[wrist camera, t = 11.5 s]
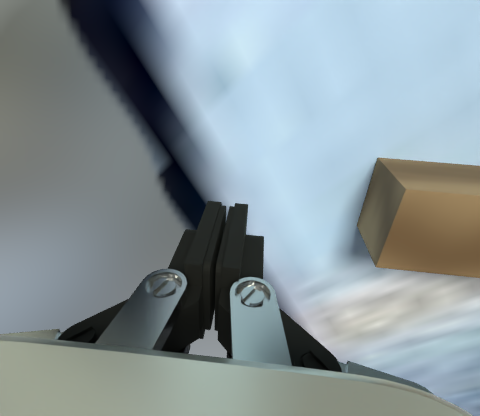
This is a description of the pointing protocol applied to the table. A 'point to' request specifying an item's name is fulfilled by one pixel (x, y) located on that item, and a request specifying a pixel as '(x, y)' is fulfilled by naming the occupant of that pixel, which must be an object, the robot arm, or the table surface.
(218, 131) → the table surface
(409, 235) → the walnut batten
